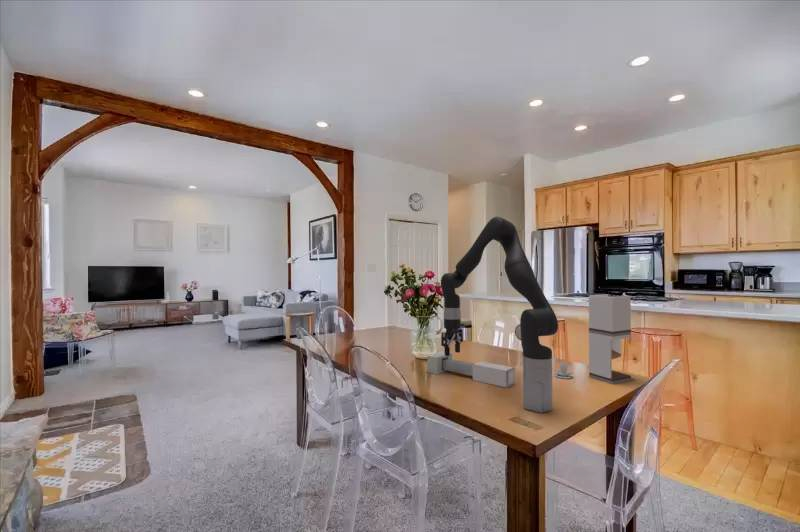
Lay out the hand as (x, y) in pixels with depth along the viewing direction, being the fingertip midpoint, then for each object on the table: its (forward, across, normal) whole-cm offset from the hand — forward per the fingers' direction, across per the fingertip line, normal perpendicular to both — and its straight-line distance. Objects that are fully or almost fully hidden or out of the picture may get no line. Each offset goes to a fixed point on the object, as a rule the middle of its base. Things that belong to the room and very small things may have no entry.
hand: (452, 353), depth 163 cm
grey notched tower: (+9, +35, -55) cm, 66 cm away
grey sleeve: (+9, 0, -19) cm, 21 cm away
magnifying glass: (+9, +33, -19) cm, 40 cm away
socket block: (+8, 0, +7) cm, 11 cm away
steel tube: (+7, 0, -4) cm, 8 cm away
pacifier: (+9, +26, -39) cm, 48 cm away
